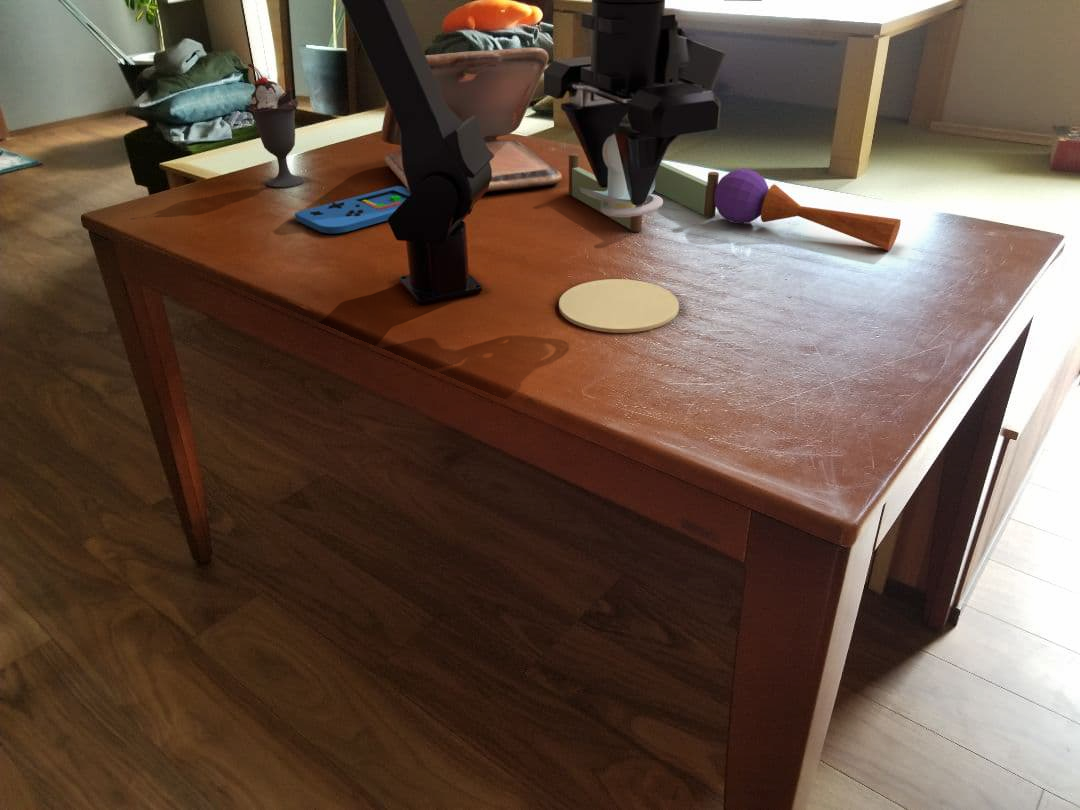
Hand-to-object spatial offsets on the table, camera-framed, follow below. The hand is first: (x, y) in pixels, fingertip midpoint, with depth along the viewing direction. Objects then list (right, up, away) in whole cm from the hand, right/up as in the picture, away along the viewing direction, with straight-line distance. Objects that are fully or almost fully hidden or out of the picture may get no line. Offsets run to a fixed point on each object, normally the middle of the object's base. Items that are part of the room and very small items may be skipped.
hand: (621, 195), depth 76 cm
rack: (+5, +6, +29) cm, 30 cm away
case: (-16, +13, +41) cm, 46 cm away
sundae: (-41, +11, +40) cm, 58 cm away
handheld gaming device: (-28, +5, +28) cm, 40 cm away
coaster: (0, -9, +4) cm, 10 cm away
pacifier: (0, -1, 0) cm, 1 cm away
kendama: (+21, 0, +20) cm, 29 cm away
